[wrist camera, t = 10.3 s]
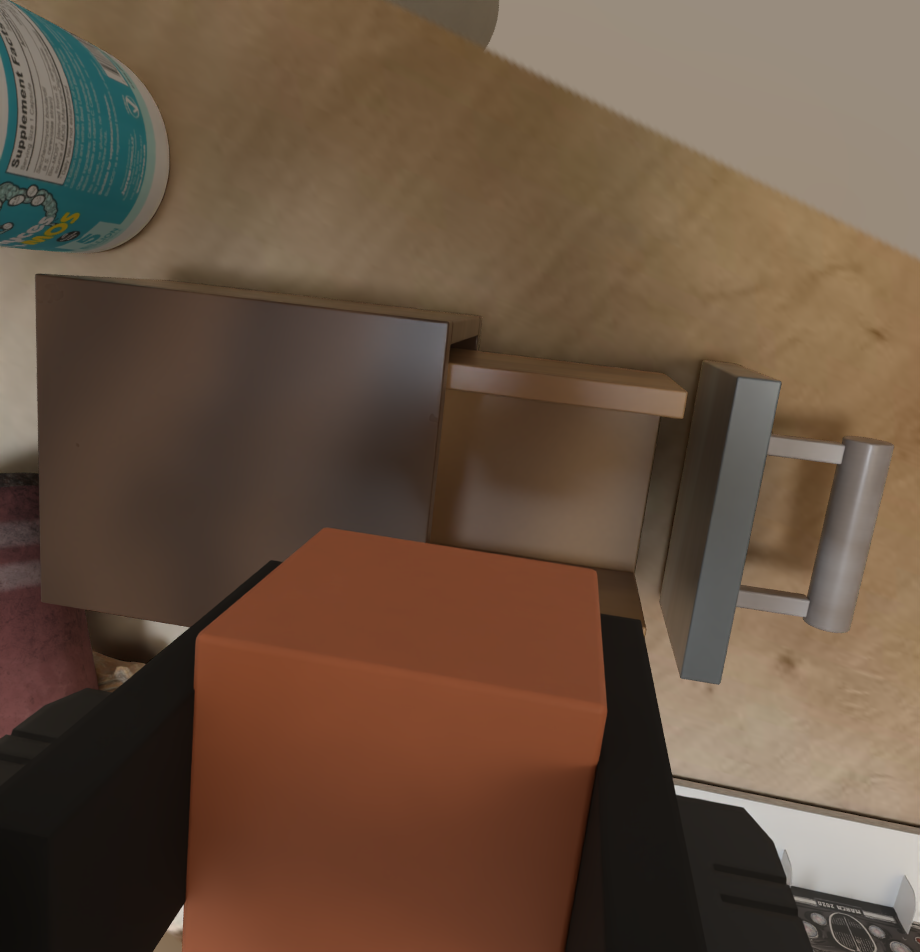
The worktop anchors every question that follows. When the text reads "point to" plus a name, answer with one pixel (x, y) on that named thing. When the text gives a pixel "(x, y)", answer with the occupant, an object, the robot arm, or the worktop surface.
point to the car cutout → (839, 870)
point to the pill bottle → (73, 141)
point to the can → (33, 616)
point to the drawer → (643, 488)
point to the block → (394, 752)
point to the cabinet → (224, 434)
